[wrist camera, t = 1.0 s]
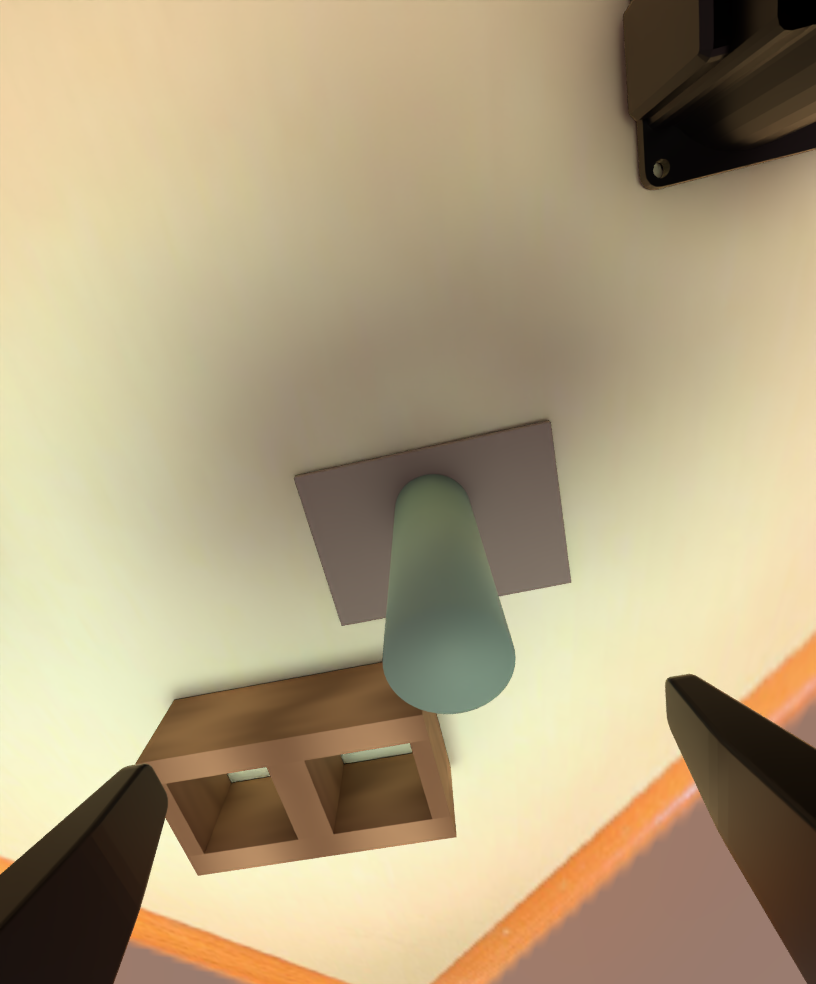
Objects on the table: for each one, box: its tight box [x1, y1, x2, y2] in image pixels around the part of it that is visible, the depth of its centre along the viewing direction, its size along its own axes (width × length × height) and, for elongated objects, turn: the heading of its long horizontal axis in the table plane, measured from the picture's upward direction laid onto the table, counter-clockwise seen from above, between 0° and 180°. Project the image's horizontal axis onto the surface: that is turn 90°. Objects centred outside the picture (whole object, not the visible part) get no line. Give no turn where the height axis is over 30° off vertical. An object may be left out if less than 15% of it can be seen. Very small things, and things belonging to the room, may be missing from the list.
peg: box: [382, 474, 515, 714], centre depth 15 cm, size 3×3×9 cm
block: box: [136, 662, 456, 876], centre depth 22 cm, size 12×7×4 cm, turn 103°
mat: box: [294, 420, 571, 626], centre depth 20 cm, size 10×7×1 cm
